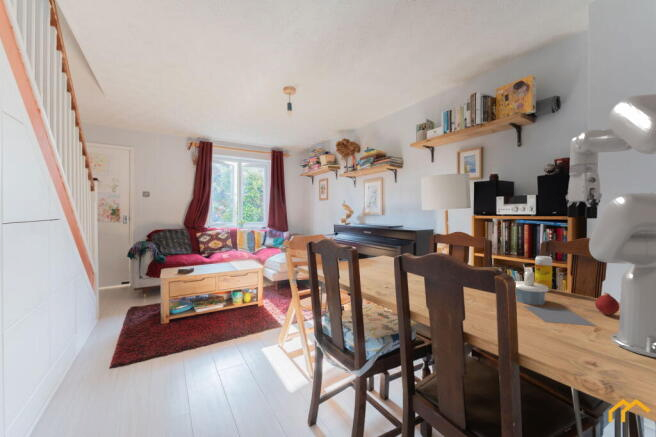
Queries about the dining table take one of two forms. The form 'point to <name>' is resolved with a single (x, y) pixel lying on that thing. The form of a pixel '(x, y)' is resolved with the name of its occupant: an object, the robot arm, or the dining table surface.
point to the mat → (558, 315)
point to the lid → (530, 284)
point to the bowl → (530, 297)
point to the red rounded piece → (607, 304)
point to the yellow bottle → (543, 271)
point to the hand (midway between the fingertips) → (581, 217)
